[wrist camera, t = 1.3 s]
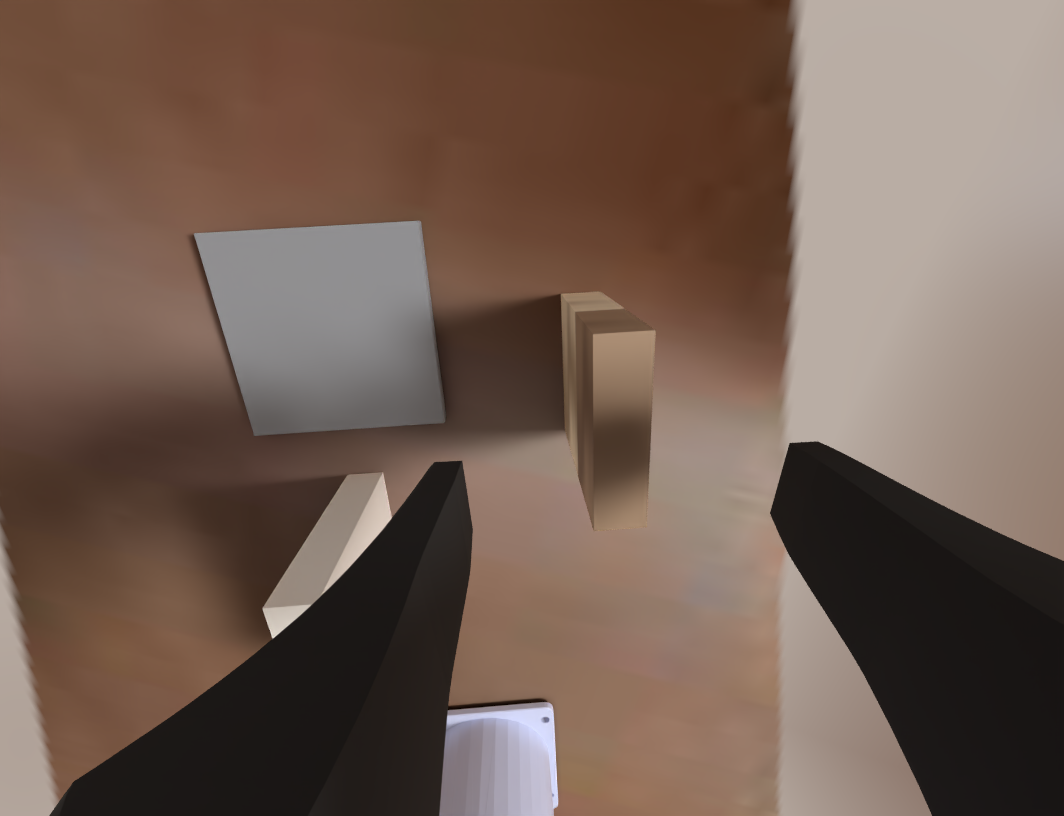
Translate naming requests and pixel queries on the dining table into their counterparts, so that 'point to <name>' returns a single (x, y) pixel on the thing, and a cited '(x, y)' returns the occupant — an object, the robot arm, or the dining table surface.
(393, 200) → the dining table surface
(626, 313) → the stepped beige block
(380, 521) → the tile
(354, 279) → the mat
